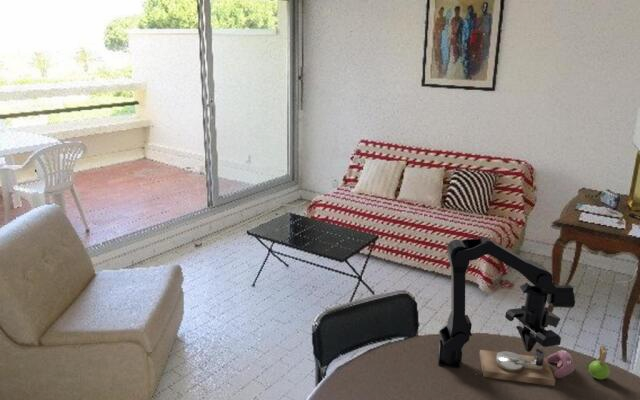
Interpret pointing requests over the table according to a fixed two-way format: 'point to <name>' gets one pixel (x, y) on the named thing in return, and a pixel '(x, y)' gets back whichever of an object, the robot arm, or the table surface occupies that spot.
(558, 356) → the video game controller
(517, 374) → the stand
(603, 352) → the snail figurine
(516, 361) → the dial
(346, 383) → the table surface
